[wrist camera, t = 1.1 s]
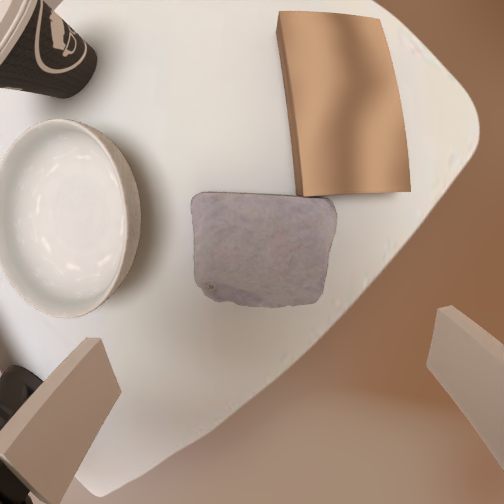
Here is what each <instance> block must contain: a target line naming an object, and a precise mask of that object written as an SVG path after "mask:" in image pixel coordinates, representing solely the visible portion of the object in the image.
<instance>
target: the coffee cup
mask: <svg viewBox="0 0 504 504" xmlns="http://www.w3.org/2000/svg"><path fill="white" fill-rule="evenodd" d="M96 63H97V56H96V53H95V51H94V50H93V49H92V48H91V47H90V46H89V45H88V44H87V43H86V42H85V41H84V40H83V39H82V38H81V37H80V36H79V35H78V34H77V33H76V32H75V31H74V30H73V29H72V28H71V27H70V26H69V25H68V24H67V23H66V22H65V21H64V20H63V19H62V18H61V17H59V16H58V15H57V14H56V13H55V12H54V11H53V10H52V9H51V8H50V7H49V6H48V5H47V4H46V3H45V2H44V1H43V0H0V88H6V89H13V90H20V91H26V92H32V93H38V94H43V95H48V96H53V97H58V98H68V97H71V96H73V95H75V94H76V93H78V92H79V91H80V90H81V89H83V88H84V86H85V85H86V84H87V83H88V82H89V80H90V79H91V77H92V75H93V73H94V71H95V68H96Z"/></svg>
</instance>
